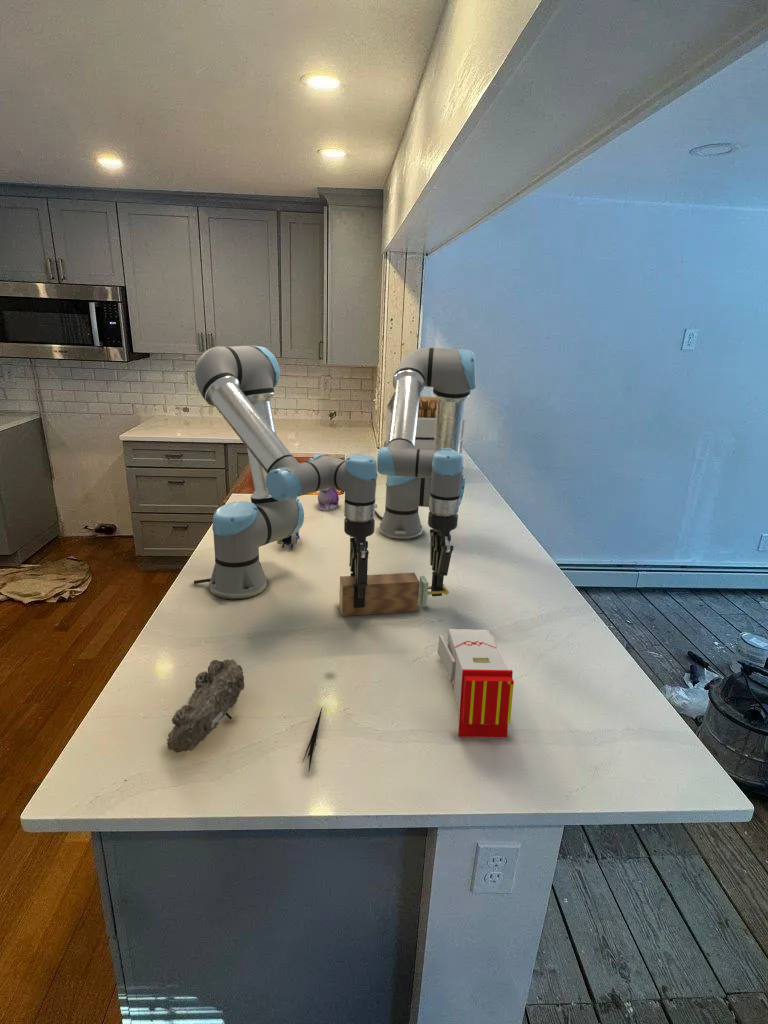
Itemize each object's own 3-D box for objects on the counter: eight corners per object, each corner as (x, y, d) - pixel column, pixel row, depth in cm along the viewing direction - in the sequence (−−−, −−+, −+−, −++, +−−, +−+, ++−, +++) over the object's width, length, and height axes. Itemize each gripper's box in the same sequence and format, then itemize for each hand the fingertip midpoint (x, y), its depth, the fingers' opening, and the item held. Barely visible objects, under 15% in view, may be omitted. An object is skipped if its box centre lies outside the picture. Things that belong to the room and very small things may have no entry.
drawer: (443, 597, 155) (445, 574, 153) (448, 605, 151) (450, 581, 149) (353, 603, 150) (353, 579, 148) (355, 611, 146) (356, 587, 144)
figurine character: (297, 555, 182) (302, 533, 196) (296, 534, 179) (302, 513, 192) (276, 554, 182) (283, 532, 195) (275, 534, 178) (282, 512, 192)
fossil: (192, 660, 117) (244, 628, 112) (224, 691, 120) (276, 661, 115) (142, 746, 98) (202, 712, 93) (182, 779, 101) (242, 748, 96)
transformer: (382, 463, 289) (386, 382, 275) (445, 464, 293) (451, 384, 279) (390, 482, 257) (394, 392, 243) (460, 483, 261) (468, 394, 247)
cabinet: (412, 601, 154) (414, 572, 151) (417, 611, 149) (419, 581, 146) (339, 605, 150) (339, 576, 147) (342, 616, 145) (342, 585, 142)
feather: (331, 679, 122) (336, 673, 122) (307, 777, 96) (313, 769, 95) (324, 675, 122) (329, 669, 121) (298, 772, 95) (304, 764, 95)
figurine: (321, 512, 217) (321, 474, 212) (311, 504, 225) (311, 467, 220) (344, 509, 221) (344, 472, 216) (333, 501, 229) (334, 465, 224)
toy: (488, 613, 130) (523, 677, 101) (484, 667, 133) (517, 744, 104) (435, 612, 130) (455, 676, 101) (432, 666, 133) (451, 743, 103)
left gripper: (382, 531, 132) (378, 618, 140) (367, 505, 149) (365, 584, 157) (350, 532, 131) (348, 620, 139) (339, 505, 148) (338, 585, 155)
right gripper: (466, 520, 139) (457, 605, 147) (449, 503, 151) (442, 583, 159) (436, 521, 137) (429, 607, 145) (422, 504, 149) (416, 584, 157)
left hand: (357, 600), depth 148 cm, fingers closed on cabinet, 5 cm apart
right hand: (436, 594), depth 152 cm, fingers closed
